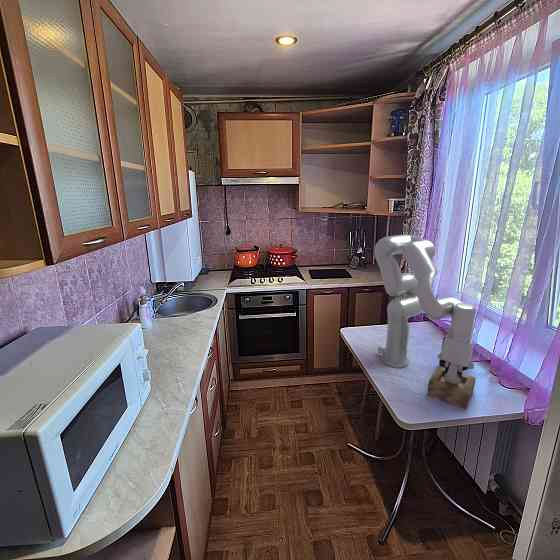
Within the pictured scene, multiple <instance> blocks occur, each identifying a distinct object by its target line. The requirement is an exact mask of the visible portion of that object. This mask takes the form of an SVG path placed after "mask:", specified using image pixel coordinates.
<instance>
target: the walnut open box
mask: <svg viewBox="0 0 560 560" xmlns="http://www.w3.org/2000/svg"><path fill="white" fill-rule="evenodd" d="M445 374H446V373H445V368H444V367H441V366H439V365H438V366H437V367H436V368H435V370H434V372H433V374H432V375H431V377H430V378H429V380H428V386H427V391H426V396H428V397H430V398H434V399H436V400H439V401H440V402H441V401H442V402H444V403H447V404H450V405H452V406H454V407H458V408H460V409H462V410H465V411H466V410H467V409H468V407H469V404H470V401H471V399H472V396H473V393H474V389H475V384H476V379H477V377H475V376H472V375H470V374H466V373H462V376H461V381H460V383H459V384H458V385H457V386H453V385H450V384H448V383H446V381H445V379H444V376H445Z"/></svg>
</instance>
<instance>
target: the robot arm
mask: <svg viewBox="0 0 560 560" xmlns="http://www.w3.org/2000/svg"><path fill="white" fill-rule="evenodd" d="M401 254H402V256H403V258H404V259H405V261H406V263H407V265H408V266H409V269H410V270H411V272H412V273H413V274H412V273H410V272H404V273H403V272H402V270H401V267H400V265H399V263H398V261H397V260H396V258H395V257H393V256H394V255H401ZM435 255H436V247H435V245H434V244H433V242H431V241H430V240H429V239H424V238H421V237H417V236H413V235H411V234H399V235H398V234H397V235H390V236H384V237H383V238H381V239H379V240H378V241H377V242H376V243H375V247H374V258H375V261H376V263H377V264H378V268H379V270H380V274H381V279H382V281H383V285H384V286H383V287H384V290H385V292H386V294H387V295H388V296H390V297H391V296H393V297H397V298H396V299H392V300H391V301H390V302H389V303H388V304H387V307H386V310H387V312H386V313H387V333H386V341H385V348H384V347H381V346H378V347H377V353H379V354H382V355H381V356H380V358H381V360H380V361H382V363H384V364H385V365H386V366H389V367H392V368H398V369H401V368H407V367H408V366H409V365H410V359H409V358H408V357H407V353H408V344H409V337H410V323H409V321H408V319H409V318H411V317H415V316H418V315H420V314H422V313H423V312H424V313H425V314H426V316H427V317H429V319H431V320H442V319H445V318H447V317H451V319H450V323H449V327H448V328H445V330H444V333H447V334H446V335H445V336H446V337H445V336H444V337H445V340H444V343H443V342H442V343H443V346H442V345H441V348H442V350H441V352H440V353H439V354H438V355H437V356H436V357H437V359H439V360H442V362H443V363H444V365H445V367H446V368H445V373H446V374H447V372H448V369H449V368H448V367H449V364H450V363H453V364H456V365H459V371H458V372H457V377H458V375H459V378H461V376H462V372H465V371H467V370H473V369H475V365H474V363H473V360H472V358H473V348H474V345H473V340H472V334H473V329H474V324H475V319H476V313H477V308H476V307H475V306H474V305H472V304H471V303H466V302H463V301H461V300H459V299H457V298H455V297H453V296H445V297H440V298H436V296H435V294H434V292H433V289H432V282H433V280H434V278H435V277H436V276H437V274H438V269H437V268H436V266H435V264H434V263H433V261H432V260H431V259H432V258H433V257H434V256H435ZM400 295H403V296H402V297H398V296H400Z"/></svg>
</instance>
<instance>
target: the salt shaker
mask: <svg viewBox="0 0 560 560" xmlns="http://www.w3.org/2000/svg"><path fill="white" fill-rule="evenodd" d="M448 368H449V369H448V372H447V374H445V376H444V379H445V381H446V383H448V384H450V385H453V386H457V385H458V384H459V383H460V381H461V378H459V375H458V377H457V372H458V371H459V365H456V364H453V363H450V364H449V367H448Z"/></svg>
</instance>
